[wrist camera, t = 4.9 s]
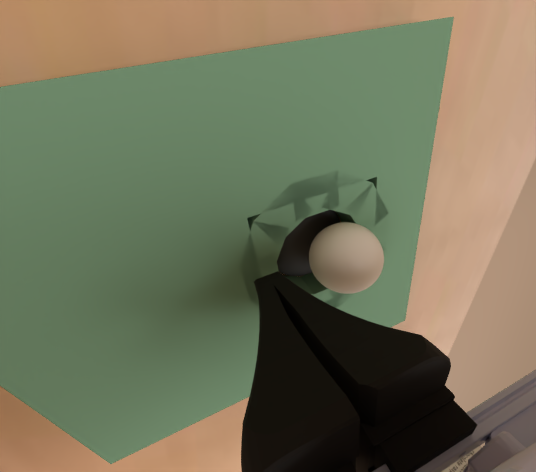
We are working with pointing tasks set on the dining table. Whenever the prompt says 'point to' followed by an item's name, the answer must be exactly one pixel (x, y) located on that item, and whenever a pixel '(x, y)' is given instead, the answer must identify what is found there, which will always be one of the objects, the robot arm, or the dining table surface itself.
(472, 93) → the dining table surface
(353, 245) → the ball
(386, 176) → the putting mat
